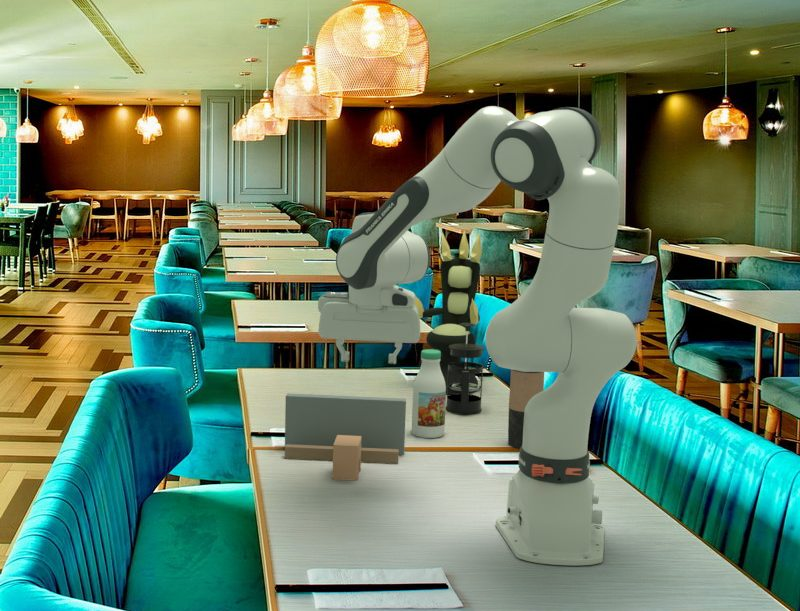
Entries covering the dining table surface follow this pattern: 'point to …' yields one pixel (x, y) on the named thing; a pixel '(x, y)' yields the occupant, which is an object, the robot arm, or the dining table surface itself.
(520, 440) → the travel mug
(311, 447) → the cleat board
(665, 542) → the dining table surface
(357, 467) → the block
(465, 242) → the miniature padded chair
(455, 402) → the french press
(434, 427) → the milk bottle
